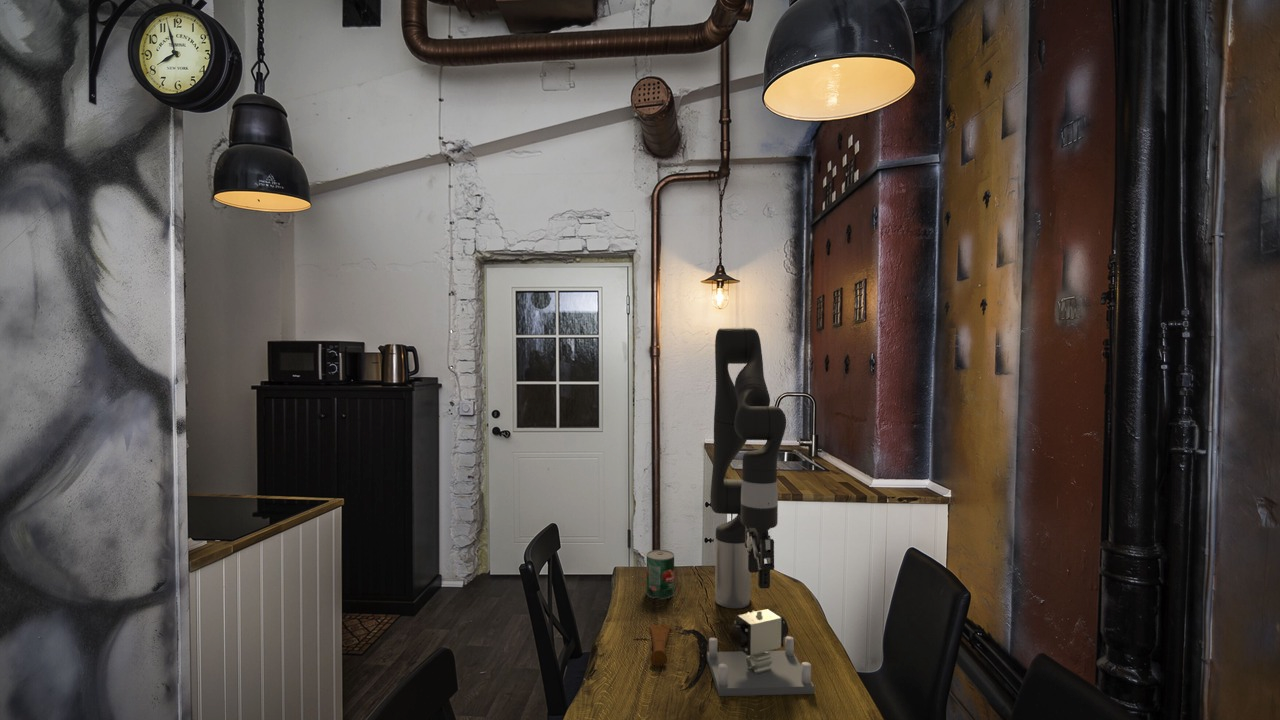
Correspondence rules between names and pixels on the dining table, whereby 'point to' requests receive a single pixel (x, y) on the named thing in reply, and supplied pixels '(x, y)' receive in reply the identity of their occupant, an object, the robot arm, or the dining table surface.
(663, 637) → the primitive tool
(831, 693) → the dining table surface
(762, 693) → the peg board
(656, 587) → the canned tomato
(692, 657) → the dining table surface
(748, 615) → the pneumatic valve
